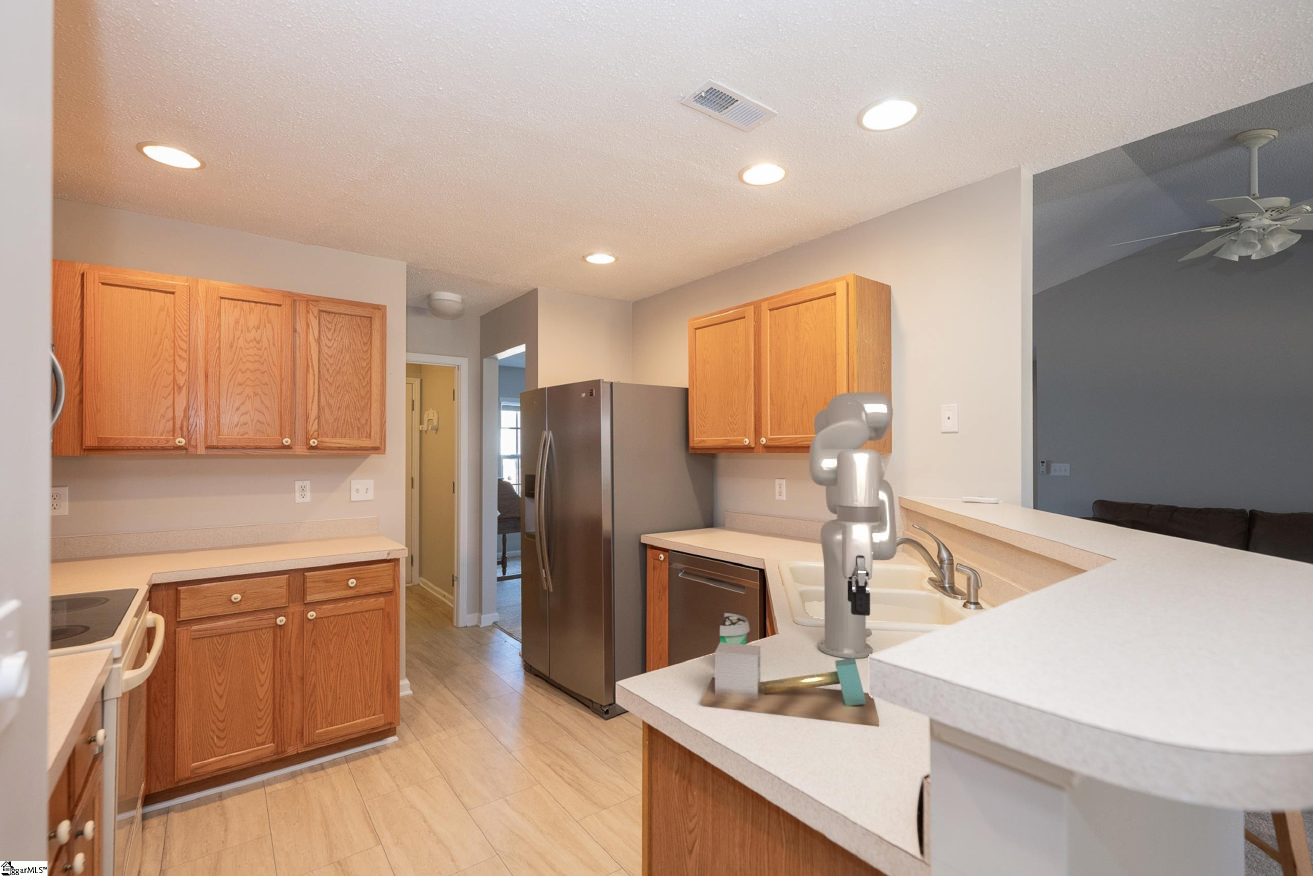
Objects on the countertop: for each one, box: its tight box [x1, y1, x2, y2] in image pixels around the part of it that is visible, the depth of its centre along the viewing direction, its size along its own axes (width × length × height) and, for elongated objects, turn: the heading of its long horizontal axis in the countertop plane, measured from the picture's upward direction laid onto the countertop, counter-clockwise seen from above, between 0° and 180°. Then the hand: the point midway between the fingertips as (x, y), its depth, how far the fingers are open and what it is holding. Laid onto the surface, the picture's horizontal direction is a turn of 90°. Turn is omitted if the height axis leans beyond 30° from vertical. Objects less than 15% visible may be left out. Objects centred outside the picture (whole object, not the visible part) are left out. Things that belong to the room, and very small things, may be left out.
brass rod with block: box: [761, 658, 866, 706], centre depth 111 cm, size 18×4×7 cm, turn 76°
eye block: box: [714, 642, 761, 699], centre depth 114 cm, size 8×6×8 cm
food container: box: [719, 612, 751, 645], centre depth 133 cm, size 12×6×10 cm, turn 168°
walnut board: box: [701, 676, 880, 727], centre depth 112 cm, size 31×12×1 cm, turn 75°
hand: (858, 608), depth 110 cm, fingers open, 9 cm apart
